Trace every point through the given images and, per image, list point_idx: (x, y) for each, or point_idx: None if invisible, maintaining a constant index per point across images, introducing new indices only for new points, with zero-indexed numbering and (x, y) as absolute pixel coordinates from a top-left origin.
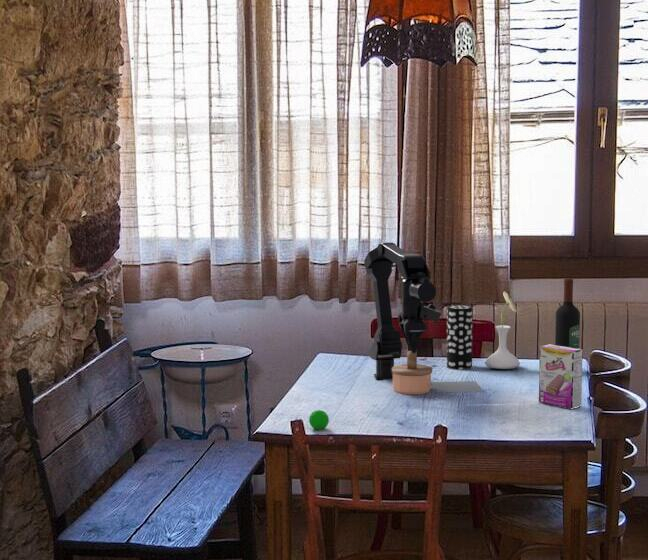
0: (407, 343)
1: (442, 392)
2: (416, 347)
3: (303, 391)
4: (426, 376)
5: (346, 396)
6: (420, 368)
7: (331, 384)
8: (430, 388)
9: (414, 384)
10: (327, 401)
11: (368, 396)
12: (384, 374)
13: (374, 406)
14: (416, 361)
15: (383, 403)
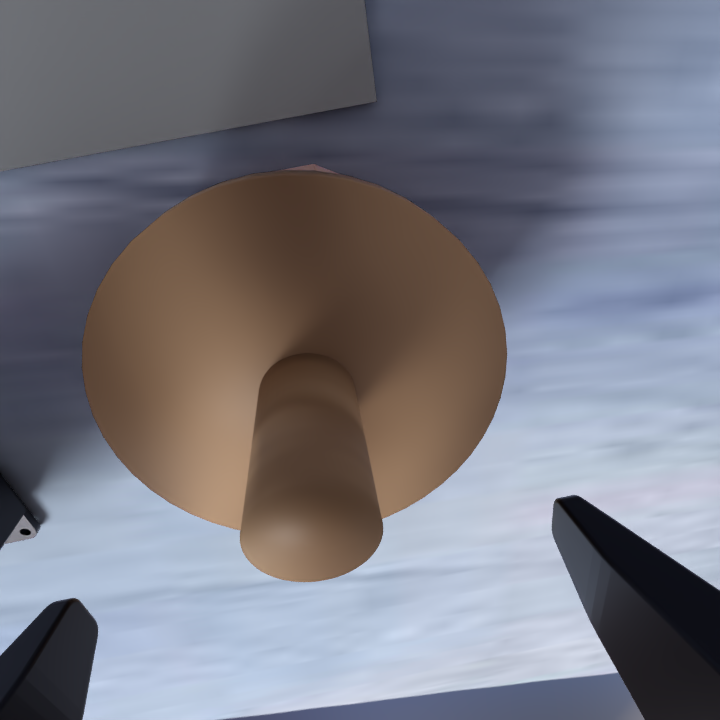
0: (84, 702)
1: (369, 46)
2: (668, 563)
3: (367, 684)
4: None
5: (449, 567)
6: (301, 316)
7: (223, 648)
8: (320, 167)
9: None
10: (530, 601)
11: (451, 497)
12: (8, 518)
13: (652, 446)
14: (326, 398)
15: (603, 419)
